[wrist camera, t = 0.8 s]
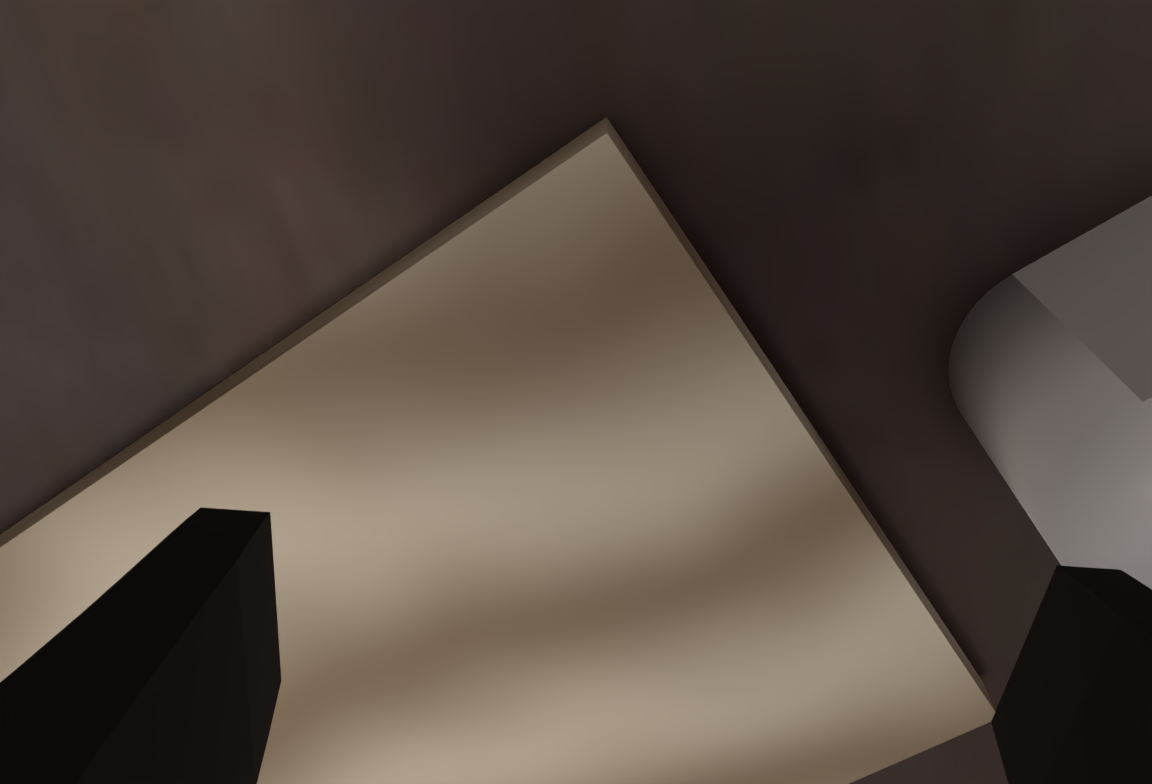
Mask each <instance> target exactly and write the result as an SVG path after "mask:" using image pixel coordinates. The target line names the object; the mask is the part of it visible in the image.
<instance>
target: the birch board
mask: <svg viewBox="0 0 1152 784" xmlns="http://www.w3.org/2000/svg"><path fill="white" fill-rule="evenodd" d="M201 507H202V508H216V509H231V510H246V511H261V512H270V515H271V530H272V545H273V561H274V576H275V591H276V606H277V621H278V637H279V652H280V667H281V684H280V689H279V693H278V698H277V702H276V706H275V711H274V715H273V719H272V724H271V728H270V732H269V737H268V741H267V745H266V749H265V753H264V757H263V761H262V765H261V769H260V773H259V777H258V781H257V784H849V783H851V782H854V781H856V780H858V779H861V778H863V777H865V776H868V775H870V774H872V773H874V772H877V771H879V770H881V769H884V768H886V767H888V766H890V765H893V764H895V763H897V762H900V761H902V760H904V759H906V758H909V757H911V756H913V755H916V754H918V753H920V752H922V751H925V750H927V749H929V748H932V747H934V746H936V745H939V744H941V743H943V742H945V741H948V740H950V739H952V738H955V737H957V736H959V735H961V734H964V733H966V732H968V731H971V730H973V729H975V728H977V727H980V726H982V725H984V724H987V723H989V722H991V721H992V719H993V717H994V714H995V712H996V710H995V708H994V706H993V703H992V701H991V699H990V697H989V695H988V693H987V691H986V689H985V686H984V684H983V682H982V680H981V678H980V677H979V675H978V674H977V672H976V671H975V669H974V667H973V666H972V664H971V663H970V661H969V660H968V658H967V657H966V655H965V654H964V652H963V651H962V649H961V648H960V646H959V645H958V643H957V642H956V640H955V639H954V637H953V636H952V634H951V633H950V631H949V630H948V628H947V627H946V625H945V624H944V622H943V621H942V619H941V618H940V616H939V615H938V613H937V612H936V610H935V609H934V607H933V606H932V604H931V603H930V601H929V600H928V598H927V597H926V595H925V594H924V592H923V591H922V589H921V588H920V586H919V585H918V583H917V582H916V580H915V579H914V577H913V576H912V574H911V573H910V571H909V570H908V568H907V567H906V565H905V564H904V562H903V561H902V559H901V558H900V556H899V555H898V553H897V552H896V550H895V549H894V547H893V546H892V544H891V543H890V541H889V540H888V538H887V537H886V535H885V534H884V532H883V531H882V529H881V528H880V526H879V525H878V523H877V522H876V520H875V519H874V517H873V516H872V514H871V513H870V511H869V510H868V508H867V507H866V505H865V504H864V502H863V501H862V499H861V498H860V496H859V495H858V493H857V492H856V490H855V489H854V487H853V486H852V484H851V483H850V481H849V480H848V478H847V477H846V475H845V474H844V472H843V471H842V469H841V468H840V466H839V465H838V463H837V462H836V460H835V459H834V457H833V456H832V454H831V453H830V451H829V450H828V448H827V447H826V445H825V444H824V442H823V441H822V439H821V438H820V436H819V435H818V433H817V432H816V430H815V429H814V427H813V426H812V424H811V423H810V421H809V420H808V418H807V417H806V415H805V414H804V412H803V411H802V409H801V408H800V406H799V405H798V403H797V402H796V400H795V399H794V397H793V396H792V394H791V393H790V391H789V390H788V388H787V387H786V385H785V384H784V382H783V381H782V379H781V378H780V376H779V375H778V373H777V372H776V370H775V369H774V367H773V366H772V364H771V363H770V361H769V360H768V358H767V357H766V355H765V354H764V352H763V351H762V349H761V348H760V346H759V345H758V343H757V342H756V340H755V339H754V337H753V336H752V334H751V333H750V331H749V330H748V328H747V327H746V325H745V324H744V322H743V321H742V319H741V318H740V316H739V315H738V313H737V312H736V310H735V309H734V307H733V306H732V304H731V303H730V301H729V300H728V298H727V297H726V295H725V294H724V292H723V291H722V289H721V288H720V286H719V285H718V283H717V282H716V280H715V279H714V277H713V276H712V274H711V273H710V271H709V270H708V268H707V267H706V265H705V264H704V262H703V261H702V259H701V258H700V256H699V255H698V253H697V252H696V250H695V249H694V247H693V246H692V244H691V243H690V241H689V240H688V238H687V237H686V235H685V234H684V232H683V231H682V229H681V228H680V226H679V225H678V223H677V222H676V220H675V219H674V217H673V216H672V214H671V213H670V211H669V210H668V208H667V207H666V205H665V204H664V202H663V201H662V199H661V198H660V196H659V195H658V193H657V192H656V190H655V189H654V187H653V186H652V184H651V183H650V181H649V180H648V178H647V177H646V175H645V174H644V172H643V171H642V169H641V168H640V166H639V165H638V163H637V162H636V160H635V159H634V157H633V156H632V154H631V153H630V151H629V150H628V148H627V147H626V145H625V144H624V142H623V141H622V139H621V138H620V136H619V135H618V133H617V132H616V130H615V129H614V127H613V126H612V124H611V123H610V121H609V120H608V118H607V117H606V118H604V119H603V120H601V121H600V122H598V123H597V124H595V125H594V126H593V127H591V128H590V129H588V130H587V131H585V132H584V133H582V134H581V135H579V136H578V137H577V138H575V139H574V140H572V141H571V142H569V143H568V144H566V145H565V146H563V147H562V148H561V149H559V150H558V151H556V152H555V153H553V154H552V155H550V156H549V157H548V158H546V159H545V160H543V161H542V162H540V163H539V164H537V165H536V166H534V167H533V168H532V169H530V170H529V171H527V172H526V173H524V174H523V175H521V176H520V177H518V178H517V179H516V180H514V181H513V182H511V183H510V184H508V185H507V186H505V187H504V188H503V189H501V190H500V191H498V192H497V193H495V194H494V195H492V196H491V197H489V198H488V199H487V200H485V201H484V202H482V203H481V204H479V205H478V206H476V207H475V208H473V209H472V210H471V211H469V212H468V213H466V214H465V215H463V216H462V217H460V218H459V219H457V220H456V221H455V222H453V223H452V224H450V225H449V226H447V227H446V228H444V229H443V230H442V231H440V232H439V233H437V234H436V235H434V236H433V237H431V238H430V239H428V240H427V241H426V242H424V243H423V244H421V245H420V246H418V247H417V248H415V249H414V250H412V251H411V252H410V253H408V254H407V255H405V256H404V257H402V258H401V259H399V260H398V261H397V262H395V263H394V264H392V265H391V266H389V267H388V268H386V269H385V270H383V271H382V272H381V273H379V274H378V275H376V276H375V277H373V278H372V279H370V280H369V281H367V282H366V283H365V284H363V285H362V286H360V287H359V288H357V289H356V290H354V291H353V292H351V293H350V294H349V295H347V296H346V297H344V298H343V299H341V300H340V301H338V302H337V303H336V304H334V305H333V306H331V307H330V308H328V309H327V310H325V311H324V312H322V313H321V314H320V315H318V316H317V317H315V318H314V319H312V320H311V321H309V322H308V323H306V324H305V325H304V326H302V327H301V328H299V329H298V330H296V331H295V332H293V333H292V334H291V335H289V336H288V337H286V338H285V339H283V340H282V341H280V342H279V343H277V344H276V345H275V346H273V347H272V348H270V349H269V350H267V351H266V352H264V353H263V354H261V355H260V356H259V357H257V358H256V359H254V360H253V361H251V362H250V363H248V364H247V365H245V366H244V367H243V368H241V369H240V370H238V371H237V372H235V373H234V374H232V375H231V376H230V377H228V378H227V379H225V380H224V381H222V382H221V383H219V384H218V385H216V386H215V387H214V388H212V389H211V390H209V391H208V392H206V393H205V394H203V395H202V396H200V397H199V398H198V399H196V400H195V401H193V402H192V403H190V404H189V405H187V406H186V407H185V408H183V409H182V410H180V411H179V412H177V413H176V414H174V415H173V416H171V417H170V418H169V419H167V420H166V421H164V422H163V423H161V424H160V425H158V426H157V427H155V428H154V429H153V430H151V431H150V432H148V433H147V434H145V435H144V436H142V437H141V438H139V439H138V440H137V441H135V442H134V443H132V444H131V445H129V446H128V447H126V448H125V449H124V450H122V451H121V452H119V453H118V454H116V455H115V456H113V457H112V458H110V459H109V460H108V461H106V462H105V463H103V464H102V465H100V466H99V467H97V468H96V469H94V470H93V471H92V472H90V473H89V474H87V475H86V476H84V477H83V478H81V479H80V480H79V481H77V482H76V483H74V484H73V485H71V486H70V487H68V488H67V489H65V490H64V491H63V492H61V493H60V494H58V495H57V496H55V497H54V498H52V499H51V500H49V501H48V502H47V503H45V504H44V505H42V506H41V507H39V508H38V509H36V510H35V511H33V512H32V513H31V514H29V515H28V516H26V517H25V518H23V519H22V520H20V521H19V522H18V523H16V524H15V525H13V526H12V527H10V528H9V529H7V530H6V531H4V532H3V533H2V534H0V682H1V681H2V680H4V679H5V678H6V677H7V676H8V675H10V674H11V673H12V672H13V671H14V670H16V669H17V668H18V667H19V666H20V665H22V664H23V663H24V662H25V661H26V660H27V659H29V658H30V657H31V656H32V655H33V654H34V653H36V652H37V651H38V650H39V649H40V648H41V647H43V646H44V645H45V644H46V643H47V642H48V641H50V640H51V639H52V638H53V637H54V636H55V635H57V634H58V633H59V632H60V631H61V630H62V629H64V628H65V627H66V626H67V625H68V624H69V623H71V622H72V621H73V620H74V619H75V618H76V617H78V616H79V615H80V614H81V613H82V612H83V611H85V610H86V609H87V608H88V607H89V606H90V605H91V604H92V603H94V602H95V601H96V600H97V599H98V598H99V597H100V596H101V595H103V594H104V593H105V592H106V591H107V590H108V589H109V588H110V587H111V586H113V585H114V584H115V583H116V582H117V581H118V580H119V579H120V578H122V577H123V576H124V575H125V574H126V573H127V572H128V571H129V570H130V569H131V568H133V567H134V566H135V565H136V564H137V563H138V562H139V561H140V560H141V559H143V558H144V557H145V556H146V555H147V554H148V553H149V552H150V551H151V550H152V549H154V548H155V547H156V546H157V545H158V544H159V543H160V542H161V541H162V540H163V539H165V538H166V537H167V536H168V535H169V534H170V533H171V532H172V531H173V530H175V529H176V528H177V527H178V526H179V525H180V524H181V523H183V522H184V521H185V520H186V519H187V518H188V517H190V516H191V515H192V514H193V513H194V512H196V511H197V510H198V509H199V508H201Z"/></svg>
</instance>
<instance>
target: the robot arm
mask: <svg viewBox="0 0 1152 784" xmlns="http://www.w3.org/2000/svg"><path fill="white" fill-rule="evenodd" d="M280 684H281V667H280V652H279V637H278V621H277V606H276V591H275V576H274V561H273V545H272V530H271V515H270V512H261V511H246V510H231V509H216V508H202V507H201V508H199V509H198V510H197V511H196V512H194V513H193V514H192V515H191V516H190V517H188V518H187V519H186V520H185V521H184V522H183V523H181V524H180V525H179V526H178V527H177V528H176V529H175V530H173V531H172V532H171V533H170V534H169V535H168V536H167V537H166V538H165V539H163V540H162V541H161V542H160V543H159V544H158V545H157V546H156V547H155V548H154V549H152V550H151V551H150V552H149V553H148V554H147V555H146V556H145V557H144V558H143V559H141V560H140V561H139V562H138V563H137V564H136V565H135V566H134V567H133V568H131V569H130V570H129V571H128V572H127V573H126V574H125V575H124V576H123V577H122V578H120V579H119V580H118V581H117V582H116V583H115V584H114V585H113V586H111V587H110V588H109V589H108V590H107V591H106V592H105V593H104V594H103V595H101V596H100V597H99V598H98V599H97V600H96V601H95V602H94V603H92V604H91V605H90V606H89V607H88V608H87V609H86V610H85V611H83V612H82V613H81V614H80V615H79V616H78V617H76V618H75V619H74V620H73V621H72V622H71V623H69V624H68V625H67V626H66V627H65V628H64V629H62V630H61V631H60V632H59V633H58V634H57V635H55V636H54V637H53V638H52V639H51V640H50V641H48V642H47V643H46V644H45V645H44V646H43V647H41V648H40V649H39V650H38V651H37V652H36V653H34V654H33V655H32V656H31V657H30V658H29V659H27V660H26V661H25V662H24V663H23V664H22V665H20V666H19V667H18V668H17V669H16V670H14V671H13V672H12V673H11V674H10V675H8V676H7V677H6V678H5V679H4V680H2V681H1V682H0V784H257V781H258V777H259V773H260V769H261V765H262V761H263V757H264V753H265V749H266V745H267V741H268V737H269V732H270V728H271V724H272V719H273V715H274V711H275V706H276V702H277V698H278V693H279V689H280ZM991 722H992V726H993V730H994V733H995V737H996V740H997V744H998V747H999V751H1000V755H1001V758H1002V762H1003V765H1004V769H1005V772H1006V776H1007V780H1008V783H1009V784H1152V589H1150V588H1149V587H1147V586H1146V585H1144V584H1143V583H1141V582H1139V581H1138V580H1136V579H1135V578H1133V577H1132V576H1130V575H1128V574H1127V573H1125V572H1124V571H1122V570H1118V569H1103V568H1089V567H1074V566H1059V565H1057V567H1056V569H1055V572H1054V574H1053V576H1052V579H1051V581H1050V583H1049V586H1048V588H1047V591H1046V593H1045V595H1044V598H1043V600H1042V602H1041V605H1040V607H1039V610H1038V612H1037V614H1036V617H1035V619H1034V621H1033V624H1032V626H1031V629H1030V631H1029V633H1028V636H1027V638H1026V641H1025V643H1024V645H1023V648H1022V650H1021V652H1020V655H1019V657H1018V660H1017V662H1016V664H1015V667H1014V669H1013V671H1012V674H1011V676H1010V679H1009V681H1008V683H1007V686H1006V688H1005V690H1004V693H1003V695H1002V698H1001V700H1000V702H999V705H998V707H997V709H996V712H995V714H994V717H993V719H992V721H991Z"/></svg>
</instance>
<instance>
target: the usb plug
mask: <svg viewBox="0 0 1152 784" xmlns="http://www.w3.org/2000/svg"><path fill="white" fill-rule="evenodd" d="M948 380H949V387H950V391H951V394H952V398H953V400H954V402H955V404H956V406H957V408H958V410H959V412H960V413H961V415H962V416H963V418H964V419H965V421H966V422H967V424H968V425H969V427H970V428H971V430H972V431H973V433H974V434H975V436H976V437H977V439H978V440H979V442H980V443H981V445H982V446H983V448H984V449H985V451H986V452H987V454H988V455H989V457H990V458H991V460H992V461H993V463H994V464H995V466H996V467H997V469H998V470H999V472H1000V474H1001V475H1002V477H1003V478H1004V480H1005V481H1006V483H1007V484H1008V486H1009V487H1010V489H1011V490H1012V492H1013V493H1014V495H1015V496H1016V498H1017V499H1018V501H1019V502H1020V504H1021V505H1022V507H1023V508H1024V510H1025V511H1026V513H1027V514H1028V516H1029V517H1030V519H1031V520H1032V522H1033V523H1034V525H1035V526H1036V528H1037V529H1038V531H1039V532H1040V534H1041V535H1042V537H1043V538H1044V540H1045V541H1046V543H1047V545H1048V546H1049V548H1050V549H1051V551H1052V552H1053V554H1054V555H1055V557H1056V558H1057V560H1058V561H1059V563H1060V564H1061V566H1074V567H1089V568H1103V569H1118V570H1122V571H1124V572H1125V573H1127V574H1128V575H1130V576H1132V577H1133V578H1135V579H1136V580H1138V581H1139V582H1141V583H1143V584H1144V585H1146V586H1147V587H1149V588H1150V589H1152V196H1150V197H1148V198H1147V199H1145V200H1143V201H1141V202H1140V203H1138V204H1136V205H1134V206H1132V207H1131V208H1129V209H1127V210H1125V211H1124V212H1122V213H1120V214H1118V215H1116V216H1115V217H1113V218H1111V219H1109V220H1108V221H1106V222H1104V223H1102V224H1100V225H1099V226H1097V227H1095V228H1093V229H1092V230H1090V231H1088V232H1086V233H1084V234H1083V235H1081V236H1079V237H1077V238H1076V239H1074V240H1072V241H1070V242H1068V243H1067V244H1065V245H1063V246H1061V247H1060V248H1058V249H1056V250H1054V251H1052V252H1051V253H1049V254H1047V255H1045V256H1044V257H1042V258H1040V259H1038V260H1037V261H1035V262H1033V263H1031V264H1029V265H1028V266H1026V267H1024V268H1022V269H1021V270H1019V271H1017V272H1015V273H1013V274H1012V275H1010V276H1009V277H1007V278H1005V279H1004V280H1002V281H1001V282H999V283H998V284H997V285H995V286H994V287H993V288H992V289H990V290H989V291H988V292H987V293H986V294H985V295H984V296H983V297H982V298H981V299H980V300H979V301H978V302H977V303H976V304H975V305H974V307H973V308H972V309H971V310H970V312H969V313H968V314H967V316H966V317H965V319H964V320H963V322H962V324H961V325H960V327H959V329H958V331H957V334H956V336H955V338H954V341H953V344H952V347H951V350H950V356H949V362H948Z"/></svg>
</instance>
